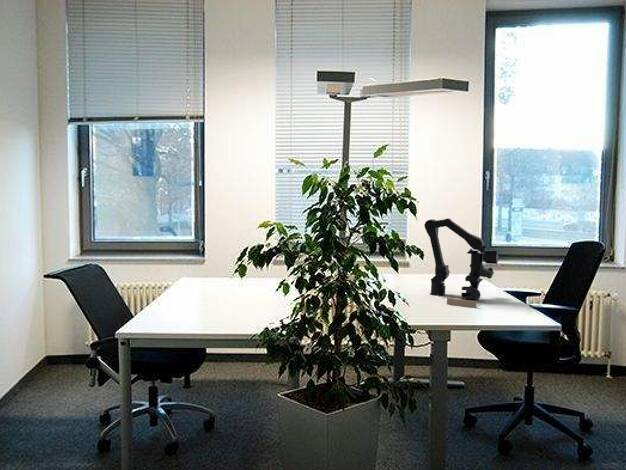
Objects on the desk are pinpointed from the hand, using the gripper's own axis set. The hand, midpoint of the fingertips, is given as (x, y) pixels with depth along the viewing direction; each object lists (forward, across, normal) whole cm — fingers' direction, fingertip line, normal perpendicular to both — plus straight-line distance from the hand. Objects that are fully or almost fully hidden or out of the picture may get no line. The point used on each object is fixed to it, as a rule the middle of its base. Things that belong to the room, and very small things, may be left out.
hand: (475, 293), depth 330 cm
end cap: (+3, -8, 0) cm, 8 cm away
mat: (+2, -16, 0) cm, 16 cm away
